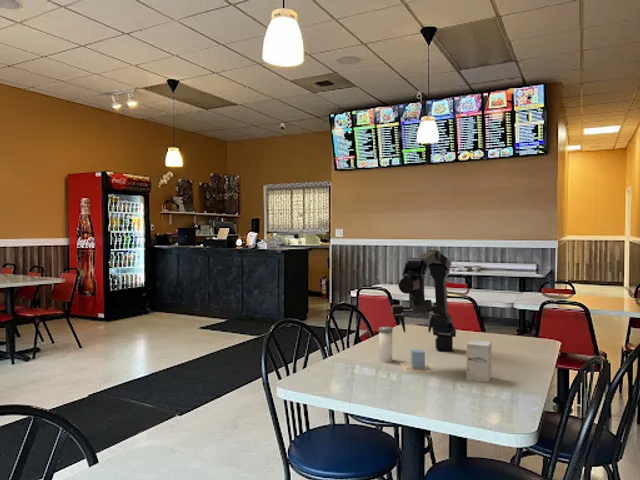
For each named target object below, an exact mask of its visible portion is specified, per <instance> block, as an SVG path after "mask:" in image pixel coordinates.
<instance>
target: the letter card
mask: <svg viewBox="0 0 640 480" xmlns="http://www.w3.org/2000/svg"><path fill="white" fill-rule="evenodd" d="M399 365H400V367H401V369H402V371H403V373H437V372H438V371H437V370H436V369H435V366H434V365H433V364H432V363H431V362H429V363H428V362H425V369H412V367H411V362H400V363H399Z"/></svg>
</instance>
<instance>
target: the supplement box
mask: <svg viewBox="0 0 640 480" xmlns="http://www.w3.org/2000/svg"><path fill="white" fill-rule="evenodd" d="M492 344H493V343H492V341H486V340H475V339H469V341H468V342H467V343H466V380H469V381H476V382H477V381H478V382H485V383H489V382H490V380H491V378H492Z"/></svg>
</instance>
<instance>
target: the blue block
mask: <svg viewBox="0 0 640 480" xmlns="http://www.w3.org/2000/svg"><path fill="white" fill-rule="evenodd" d="M425 353H426V352H425V351H424V349H410V363H411V367H412V369H425V363H426V354H425Z"/></svg>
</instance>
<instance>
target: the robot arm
mask: <svg viewBox="0 0 640 480" xmlns="http://www.w3.org/2000/svg"><path fill="white" fill-rule="evenodd" d="M450 269H451V262H450V260H449V259H448V257H447V256H446V255H444V254H442V252H441V251H440V250H438V249H437V250H436V249H428V250H427V251H426V252H424V253H423V254H421V255H420V256H417V257H414V256H413V257H408V258H407V260H406V261H405V264H404V267H403V271H402V275H401V276H402V277H403V278H401V279H400V280H399V283H398V289H399V291H400V292H401V293H403V294H406V295H408V306H403V305H402V304H392V305H391V307H390V308H391V309H390V312H391V314H392V315H395V317H398V319H399V322H400V324H401V327H402V330H403V333H406V324H405V314H404V313H413V314H423V315H424V314H426V313H428V324H427V325H428V326H427V327H428V328H427V330H428V333H431V330H432V335H433V336H436V337H435V338H434V343H435V345H434V347H435V349H436V350H437V351H438V352H454V349H453V348H454V347H453V346H454V345H453V343H454V342H453V338H455V337H456V336H457V335H456V334H457V330H456V327H455V325H454V323H453V318H452V315H450V313H449V311H448V295H447V293H448V292H447V278H448V276H449V274H450ZM428 270H429V275H430V276H431V278H432V279H433V281H434V294H435V295H434V296H435V297H434V298H435V304H432V299H425V279H426V273H427V271H428Z"/></svg>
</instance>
